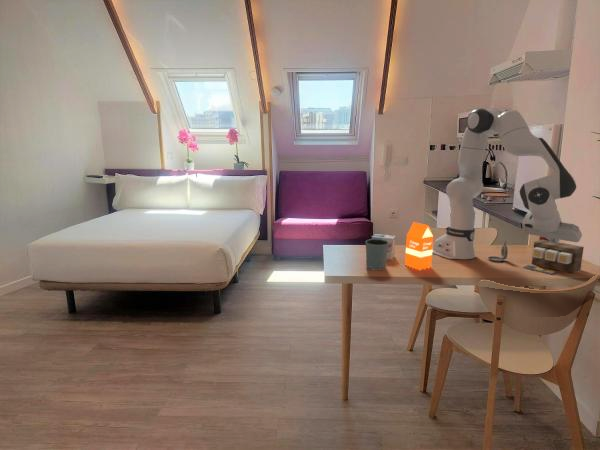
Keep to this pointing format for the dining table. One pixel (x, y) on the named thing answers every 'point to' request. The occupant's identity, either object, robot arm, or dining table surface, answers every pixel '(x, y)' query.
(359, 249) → the dining table surface
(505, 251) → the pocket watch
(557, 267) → the console
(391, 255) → the light bulb box
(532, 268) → the pattern tile
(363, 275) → the dining table surface
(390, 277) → the dining table surface
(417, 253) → the orange juice
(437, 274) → the dining table surface
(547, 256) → the button middle
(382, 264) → the grey green cup
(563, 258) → the button right
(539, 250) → the button left
